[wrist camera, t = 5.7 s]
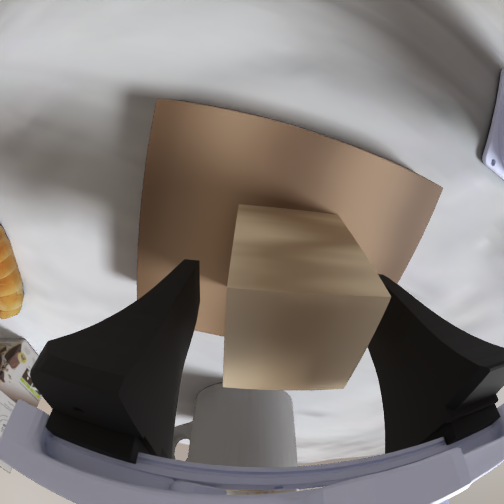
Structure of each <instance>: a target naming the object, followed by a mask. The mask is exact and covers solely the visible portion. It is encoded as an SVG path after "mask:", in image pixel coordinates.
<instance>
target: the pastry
mask: <svg viewBox="0 0 504 504" xmlns="http://www.w3.org/2000/svg"><path fill="white" fill-rule="evenodd" d="M22 286H23V283H22V279H21V275H20V273H19V270H18V265H17V263H16V260H15V256H14V253H13V250H12V246H11V243H10V241H9V240H8V238H7V236H6V234H5V231H4V229H3V227H2V226H0V318H1V319H6V318H9V317H12V316H15V315H17V314H18V313H19V312H20V310H21V307H22V302H23V297H24V294H23V289H22Z"/></svg>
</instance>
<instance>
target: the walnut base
mask: <svg viewBox="0 0 504 504" xmlns="http://www.w3.org/2000/svg"><path fill="white" fill-rule="evenodd" d="M442 190H443V188H442V187H441V186H439V185H437V184H435V183H434V182H432V181H430V180H428V179H426V178H425V177H423V176H421V175H419V174H417V173H415V172H413V171H411V170H409V169H407V168H405V167H403V166H400V165H398V164H396V163H394V162H392V161H389V160H387V159H385V158H382V157H380V156H378V155H375V154H373V153H371V152H368V151H366V150H363V149H361V148H358V147H355V146H353V145H350V144H348V143H345V142H342V141H339V140H337V139H334V138H331V137H328V136H325V135H322V134H319V133H316V132H313V131H310V130H307V129H304V128H300V127H297V126H294V125H290V124H287V123H283V122H280V121H276V120H272V119H269V118H265V117H261V116H257V115H253V114H249V113H244V112H240V111H235V110H231V109H226V108H221V107H216V106H210V105H205V104H199V103H193V102H187V101H180V100H169V99H157V102H156V106H155V111H154V116H153V122H152V127H151V133H150V139H149V145H148V151H147V158H146V165H145V173H144V181H143V189H142V199H141V210H140V222H139V238H138V260H137V300H138V299H140V298H141V297H142V296H143V295H145V294H146V293H147V292H148V291H150V290H151V289H152V288H153V287H155V286H156V285H157V284H158V283H159V282H160V281H161V280H162V279H164V278H165V277H166V276H167V275H168V274H169V273H170V272H171V271H172V270H173V269H174V268H175V267H177V266H178V265H179V264H180V263H181V262H182V261H183V260H184V259H188V260H199V261H200V305H199V311H198V317H197V322H196V326H195V329H194V330H195V331H200V332H205V333H209V334H214V335H219V336H224V337H225V316H226V295H227V283H228V276H229V268H230V261H231V254H232V247H233V240H234V233H235V226H236V219H237V212H238V206H239V204H243V205H254V206H265V207H275V208H285V209H294V210H303V211H312V212H321V213H329V214H337V215H339V217H340V218H341V220H342V221H343V222H344V224H345V225H346V227H347V228H348V230H349V231H350V232H351V234H352V235H353V237H354V238H355V240H356V241H357V243H358V244H359V246H360V247H361V249H362V250H363V252H364V253H365V255H366V256H367V258H368V260H369V261H370V263H371V264H372V266H373V267H374V269H375V271H376V272H377V274H383V275H385V276H386V277H388V278H390V279H391V280H392V281H394V282H395V283H396V284H397V283H398V281H399V280H400V278H401V276H402V274H403V272H404V271H405V269H406V267H407V265H408V263H409V261H410V259H411V257H412V256H413V254H414V252H415V250H416V248H417V246H418V244H419V242H420V240H421V238H422V235H423V233H424V231H425V229H426V227H427V225H428V223H429V220H430V218H431V216H432V214H433V211H434V209H435V207H436V204H437V202H438V199H439V197H440V195H441V192H442Z"/></svg>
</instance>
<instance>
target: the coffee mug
mask: <svg viewBox="0 0 504 504" xmlns="http://www.w3.org/2000/svg"><path fill="white" fill-rule="evenodd" d="M182 439H189V440H190V446H189V453H188V458H187V460H186V461H187V462H194V463H202V464H211V465H221V466H236V467H296V466H298V463H297V451H296V439H295V427H294V416H293V406H292V400H291V397H290V396H289V395H288V394H287V393H286V392H285V391H283V390H258V389H240V388H227V387H223V383H218V384H215V385H211V386H209V387H207V388H205V389H203V390H202V391H201V392H200V393H199V394H198V395H197V398H196V404H195V411H194V418H193V421H192V422H189V423H186V424H183V425H179V426H176V427H174V435H173V448H172V459H174V460H175V456H174V452H175V447H176V445H177V443H178V442H179V441H180V440H182ZM224 490H226V491H227V495H257V494H274V493H286V492H295V491H299V489H291V490H231V489H224Z"/></svg>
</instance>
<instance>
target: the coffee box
mask: <svg viewBox="0 0 504 504" xmlns="http://www.w3.org/2000/svg"><path fill="white" fill-rule="evenodd" d="M38 357H39V356H38V355H37V354H36V352H35V351H34V350H33V349H32V347H31V346H30V345H29V343H28V342H27V341H26V340H24V339H0V439H1V436H2V434H3V431H4V429H5V427H6V424H7V422H8V420H9V418H10V415H11V413H12V411H13V409H14V407H15V405H16V403H17V401H18V400H22V401H24V402H26V403H28V404H30V405H32V406H34V407H36V408H37V406H38V403H39V401H40V399H41V397H42V395H41V394H40V393H39V391H38V390H37V389H36V387H35V386H34V384H33V383H32V380H31V377H30V371H31V369H32V367H33V365H34V363H35V362H36V360H37V358H38ZM0 467H1V468H3V469H4V470H6V471H7V472H9V473H10V472H11V469H12V467H11V466H9V465H8V464H6V463H5V462H4V461H2V460H1V459H0Z"/></svg>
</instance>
